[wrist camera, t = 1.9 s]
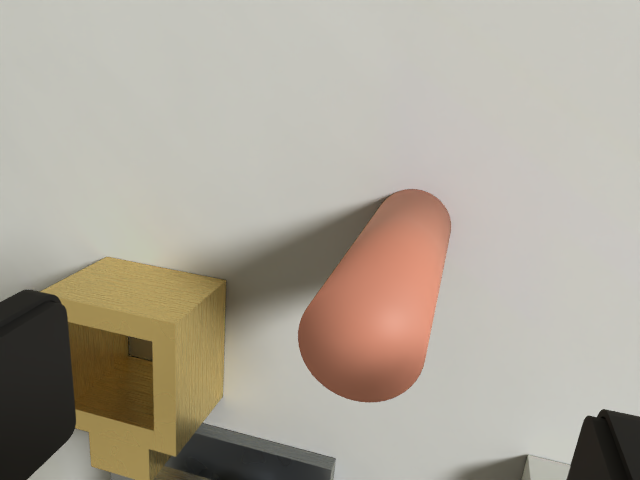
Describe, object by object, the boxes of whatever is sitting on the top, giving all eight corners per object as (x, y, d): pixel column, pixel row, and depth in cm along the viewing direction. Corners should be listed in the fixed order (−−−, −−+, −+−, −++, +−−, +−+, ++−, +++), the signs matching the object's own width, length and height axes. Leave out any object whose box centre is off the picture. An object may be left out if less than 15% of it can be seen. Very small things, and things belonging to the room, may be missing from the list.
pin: (456, 195, 21) (435, 299, 12) (444, 267, 22) (415, 415, 13) (379, 184, 22) (302, 274, 13) (371, 255, 23) (294, 386, 14)
